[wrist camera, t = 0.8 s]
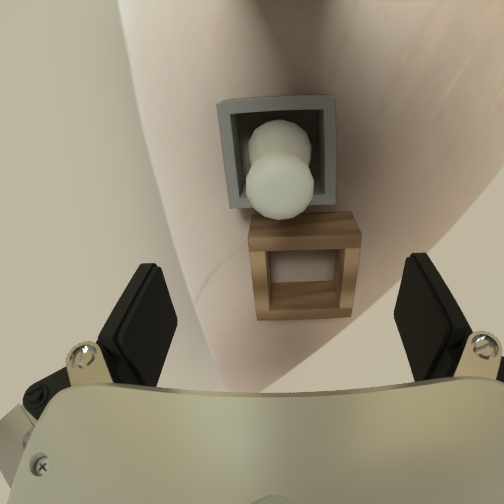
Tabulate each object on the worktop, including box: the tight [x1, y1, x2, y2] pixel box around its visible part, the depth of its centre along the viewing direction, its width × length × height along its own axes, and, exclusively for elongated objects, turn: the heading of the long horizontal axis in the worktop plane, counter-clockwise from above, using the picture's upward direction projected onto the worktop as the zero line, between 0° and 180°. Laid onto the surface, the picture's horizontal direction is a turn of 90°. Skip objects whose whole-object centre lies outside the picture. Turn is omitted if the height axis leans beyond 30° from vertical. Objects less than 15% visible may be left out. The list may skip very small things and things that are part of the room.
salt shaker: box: [246, 119, 314, 220], centre depth 24 cm, size 6×6×13 cm
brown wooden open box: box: [248, 212, 362, 320], centre depth 34 cm, size 11×11×5 cm
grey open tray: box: [217, 95, 336, 209], centre depth 27 cm, size 10×10×4 cm
